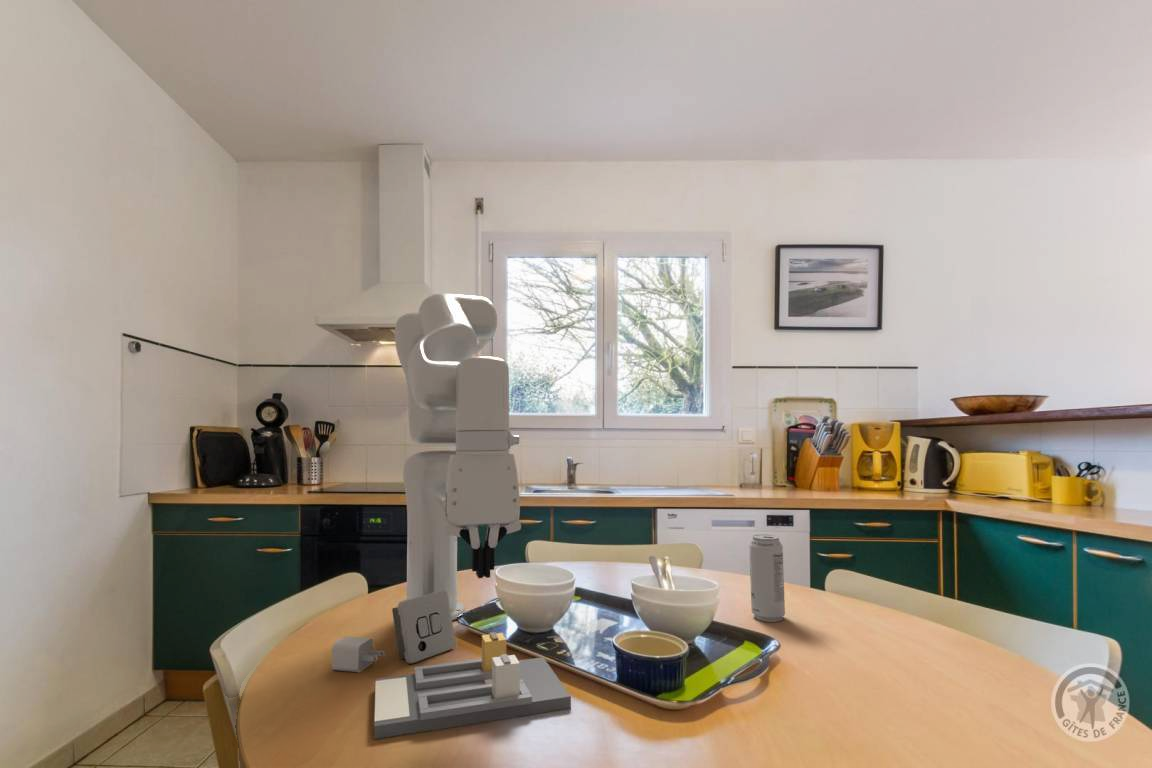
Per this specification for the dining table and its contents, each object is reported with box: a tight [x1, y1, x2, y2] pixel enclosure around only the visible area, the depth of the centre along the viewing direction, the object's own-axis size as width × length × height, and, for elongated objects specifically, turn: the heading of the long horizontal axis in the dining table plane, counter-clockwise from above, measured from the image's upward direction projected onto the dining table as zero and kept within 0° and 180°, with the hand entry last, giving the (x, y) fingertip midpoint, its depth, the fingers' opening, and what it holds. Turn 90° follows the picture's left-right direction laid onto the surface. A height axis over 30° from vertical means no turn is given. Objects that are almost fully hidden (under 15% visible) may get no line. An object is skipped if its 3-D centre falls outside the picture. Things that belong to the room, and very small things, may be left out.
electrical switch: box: [391, 591, 457, 665], centre depth 98 cm, size 9×5×9 cm, turn 141°
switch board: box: [373, 654, 572, 740], centre depth 81 cm, size 15×24×2 cm, turn 108°
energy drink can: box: [748, 534, 786, 623], centre depth 114 cm, size 6×6×15 cm
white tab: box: [492, 653, 520, 699], centre depth 78 cm, size 3×3×5 cm
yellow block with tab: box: [481, 631, 507, 671], centre depth 86 cm, size 3×3×5 cm
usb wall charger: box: [331, 636, 386, 673], centre depth 92 cm, size 4×7×4 cm, turn 78°
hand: (483, 575), depth 84 cm, fingers closed
